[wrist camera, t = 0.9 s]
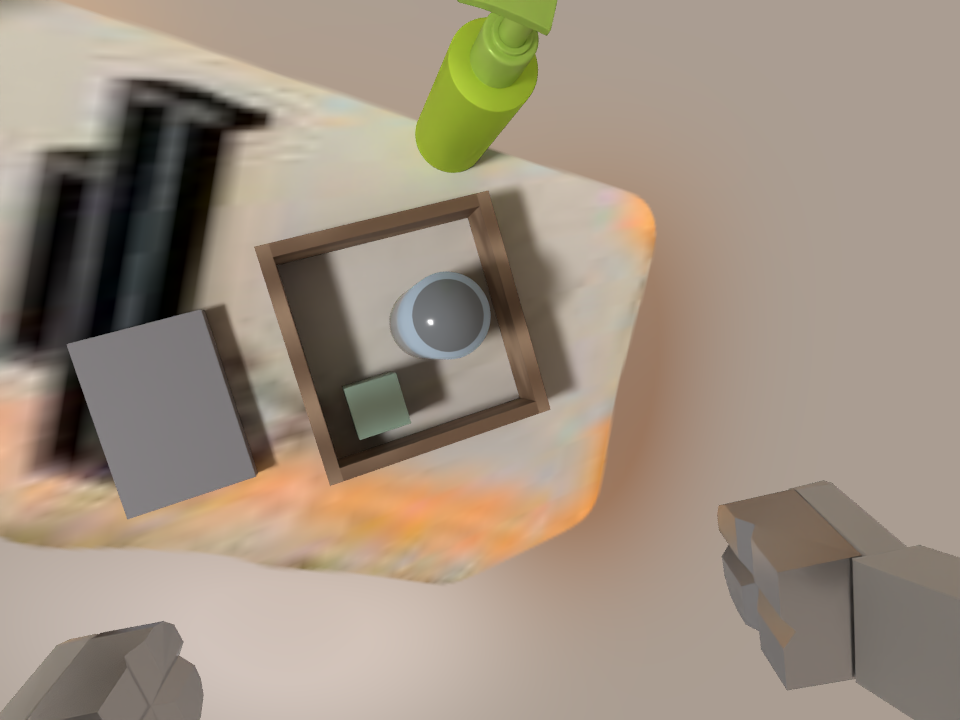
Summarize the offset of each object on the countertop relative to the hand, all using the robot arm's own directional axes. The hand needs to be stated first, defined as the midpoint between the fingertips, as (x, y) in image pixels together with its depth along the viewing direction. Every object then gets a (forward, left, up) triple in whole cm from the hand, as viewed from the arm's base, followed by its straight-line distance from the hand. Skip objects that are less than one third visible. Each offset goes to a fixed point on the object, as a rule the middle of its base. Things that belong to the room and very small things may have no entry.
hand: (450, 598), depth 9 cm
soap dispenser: (-19, +14, -41) cm, 47 cm away
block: (+1, +2, -41) cm, 41 cm away
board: (-3, -12, -41) cm, 43 cm away
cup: (-4, +8, -41) cm, 42 cm away
